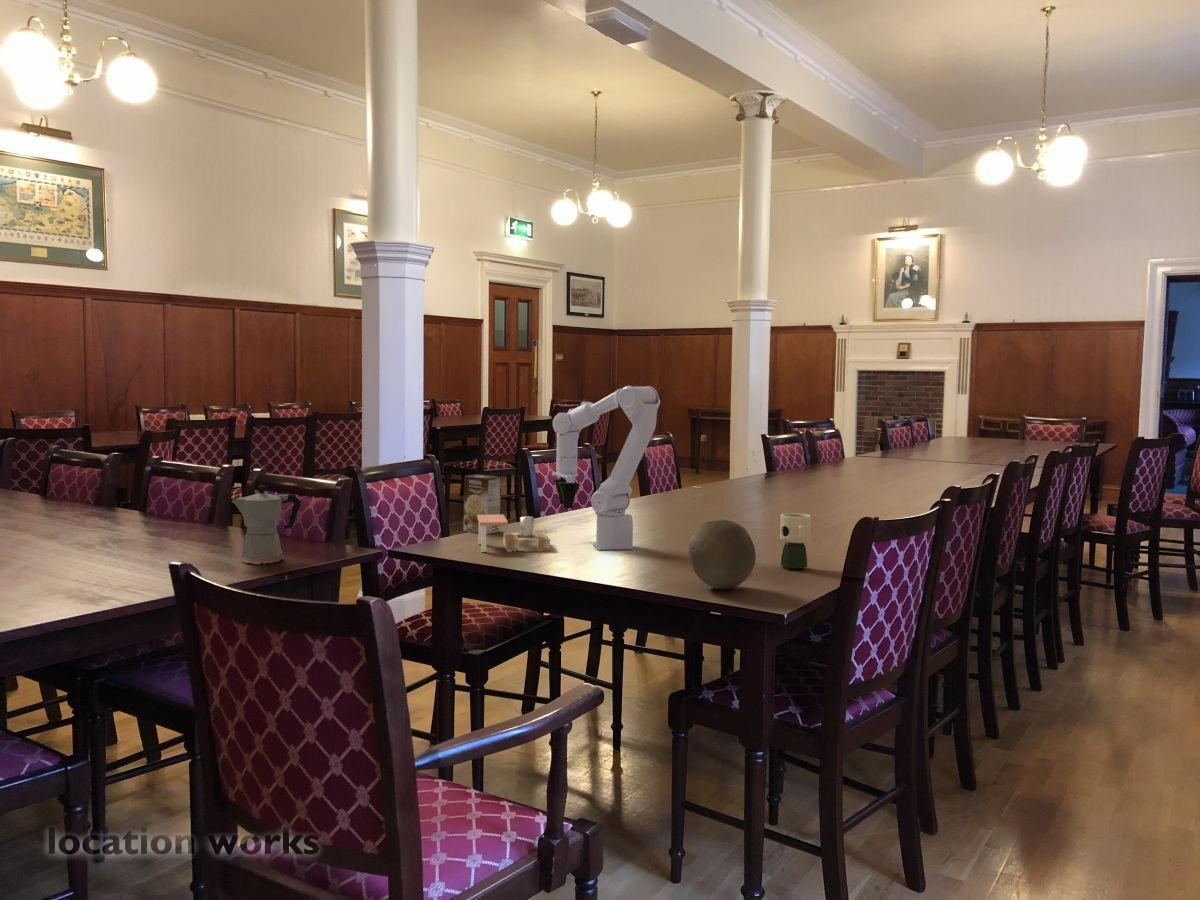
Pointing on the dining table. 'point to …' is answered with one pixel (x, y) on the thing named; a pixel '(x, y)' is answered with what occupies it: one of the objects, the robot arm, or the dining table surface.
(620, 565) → the dining table surface
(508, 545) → the socket block
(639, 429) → the robot arm
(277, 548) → the coffeepot
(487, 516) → the peach and white stand
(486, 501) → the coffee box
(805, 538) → the character mug
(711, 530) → the cantaloupe
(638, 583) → the dining table surface
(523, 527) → the peg
